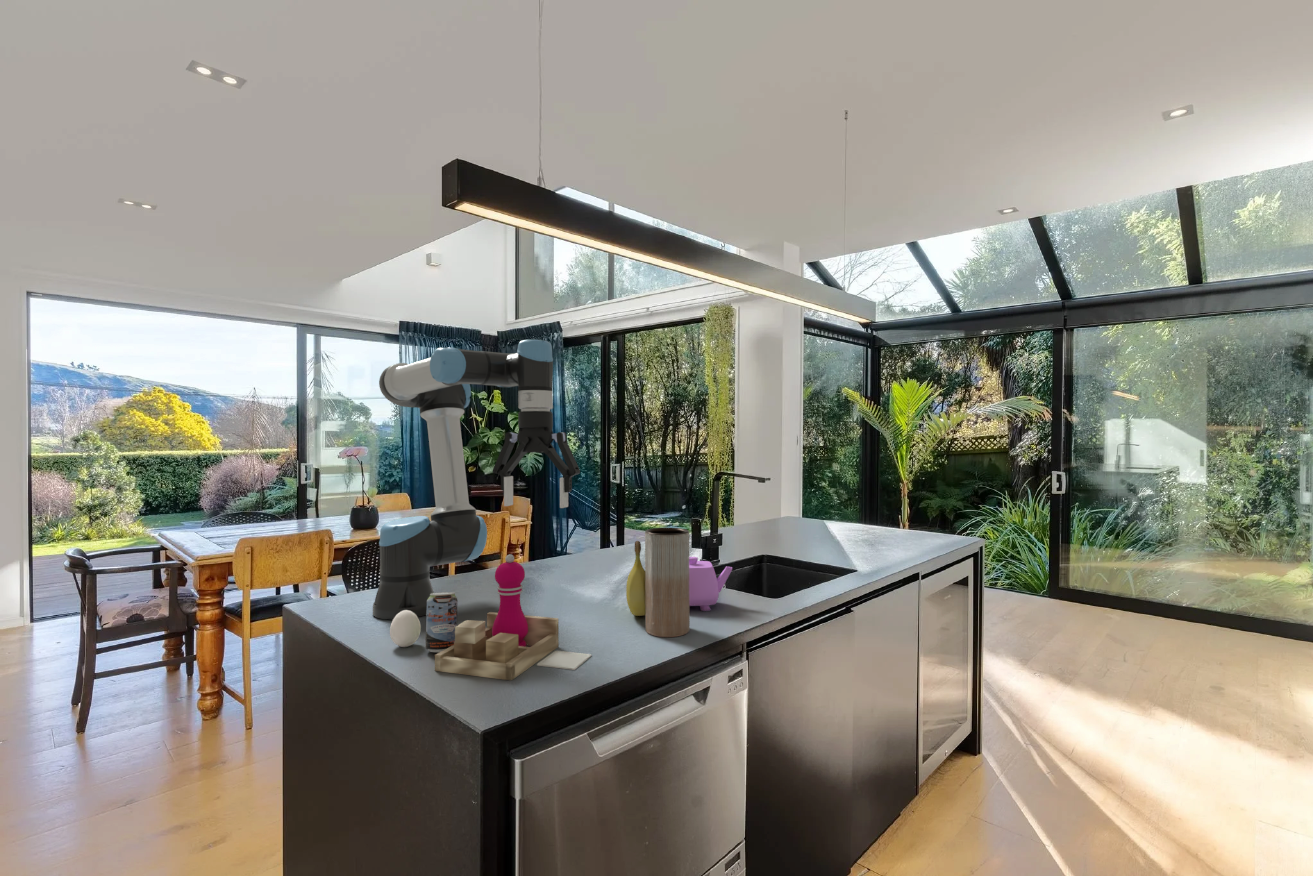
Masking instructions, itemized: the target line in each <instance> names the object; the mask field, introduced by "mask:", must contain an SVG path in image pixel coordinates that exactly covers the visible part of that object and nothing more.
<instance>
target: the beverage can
mask: <svg viewBox="0 0 1313 876" xmlns="http://www.w3.org/2000/svg"><path fill="white" fill-rule="evenodd" d="M425 616H426V617H425V621H426V623H425V645H424V646H425V649H426V650H428V651H429V653H439V652H441V651H443V650H445V649H447V648H449V647H451V646H453V645H454V642H455V627H456V626H458V597H457V596H456V592H452V591H450V592H449V591H445V592H442V591H441V592H434V593H431V594H430V597H429V598H428V600H427V614H426V615H425Z"/></svg>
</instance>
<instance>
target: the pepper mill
mask: <svg viewBox="0 0 1313 876" xmlns="http://www.w3.org/2000/svg"><path fill="white" fill-rule="evenodd" d="M525 575H526V573H525V569H524V566H523V565H521V564H520V563H518V562H515V556H514V555H513V554H511V553H510V554H507V555H506V556H505V562H502V563H501V564H499V565H498V566H497V568H496V569H495V571H494V579H495V582H496V583H497V584H498V586H497V594H498V595H499V607H498V611H497V613H498V614H497V616H496V619H495V621H494V624H493V628H492V635H493V636H495V635H497V634H499V633H508V634H518V646H524V647H527V645H526V642H525V641H524V640H523V639H524V638H525V636H526V635H527V633H528V624H527V621H526V618H525V616H524V615H525V614H524V612H523V609H522V604H521V594H522V593H523V585H522V582H523V581H524V580H525Z"/></svg>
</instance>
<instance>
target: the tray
mask: <svg viewBox="0 0 1313 876" xmlns="http://www.w3.org/2000/svg"><path fill="white" fill-rule="evenodd" d="M497 614H498V612H492V611H489V612H487V613H486V627H485V636H487V640H488V639H490V638H492V637H493V635H492V628H493V624H494V621H495V619H496V616H497ZM524 616H525V618H526V621H527V624H528V633H527V635H526V636H525V638H524V639H523V640H524V641H525V642H526V647H524V646H518V654H519V655H518V656H516V657H514V658H513V659H511V660H510V661H508V662H507V663H498V662H490V661H482V660H473V659H465V658H456V657H454V645H453V646H451V647H449V648H447V649H445V650H443V651H441V652H436V654H434V671H435V672H443V673H450V674H457V675H466V676H474V677H482V678H488V679H489V678H490V679H496V680H504V681H513V680H515V678H517V677H518V676H520V675H521V674H523V673H524V672H525V671H527V670H528V669H530V668H531V667H533V666H534V665H536V664H537V663H539V662H540V661H542V660H543V659H544V658H546V657H547V656H549V655H550V654H551V653H553V652H554V651H555V650H556V649H558V648H559V645H560V644H559V642H560V641H559V637H560V635H559V630H560V629H559V617H548V616H538V615H536V616H535V615H526V614H524Z"/></svg>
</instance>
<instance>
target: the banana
mask: <svg viewBox="0 0 1313 876" xmlns="http://www.w3.org/2000/svg"><path fill="white" fill-rule="evenodd" d="M641 545H642V544H641V542H640V541H639V540H636V541H635V542H634V553H635V559H634V564H633V566H632V568H631V569H630V571H629V574H628V576H627V580H626V586H625V587H626V588H625V589H626V591H625V595H626V603H627V606H628V608H629V611H630V613H631V615H632V616H635V617H636V616H637V617H638V616H639V617H640V616H643V617H645V568H644V567H643V565H642V562H641V551H642V546H641Z"/></svg>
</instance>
